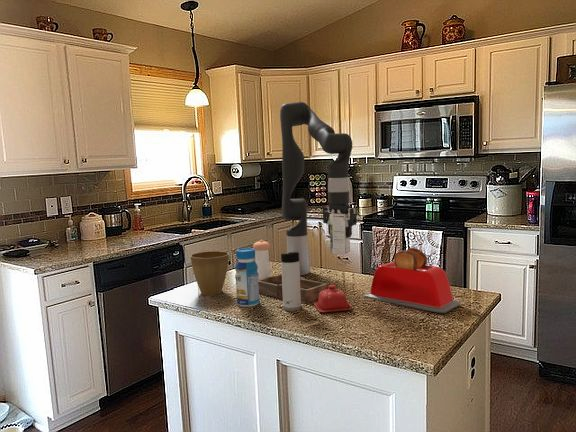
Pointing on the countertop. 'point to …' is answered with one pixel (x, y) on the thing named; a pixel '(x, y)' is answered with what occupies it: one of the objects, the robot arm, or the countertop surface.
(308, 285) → the wooden tray
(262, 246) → the salt shaker
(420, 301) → the toaster
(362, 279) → the countertop surface
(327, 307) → the butter dish
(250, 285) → the beverage bottle
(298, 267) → the travel mug
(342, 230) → the syrup box
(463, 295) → the countertop surface
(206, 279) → the plant pot
